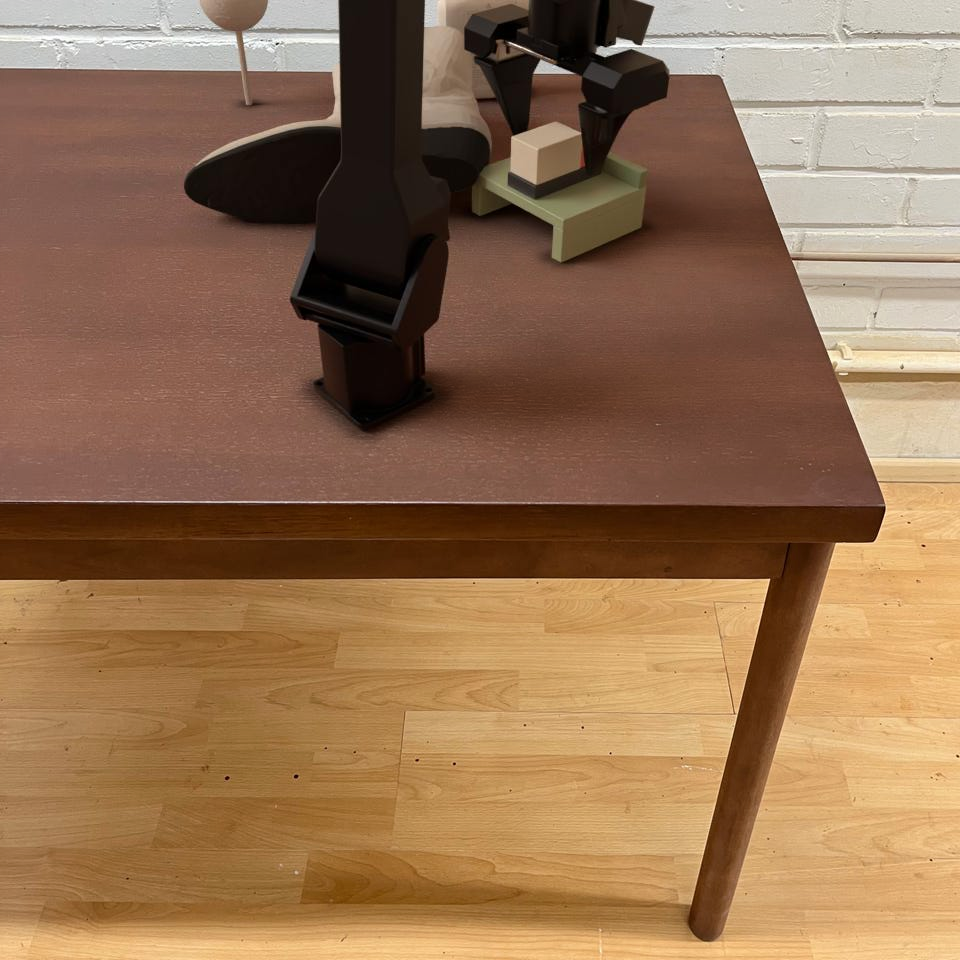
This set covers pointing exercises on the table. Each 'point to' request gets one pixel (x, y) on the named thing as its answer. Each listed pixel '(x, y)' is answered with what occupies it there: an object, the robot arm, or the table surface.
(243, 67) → the lollipop
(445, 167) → the cowboy boot
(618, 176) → the shoe shelf
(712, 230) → the table surface
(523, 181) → the block
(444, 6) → the white printed package
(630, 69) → the robot arm
